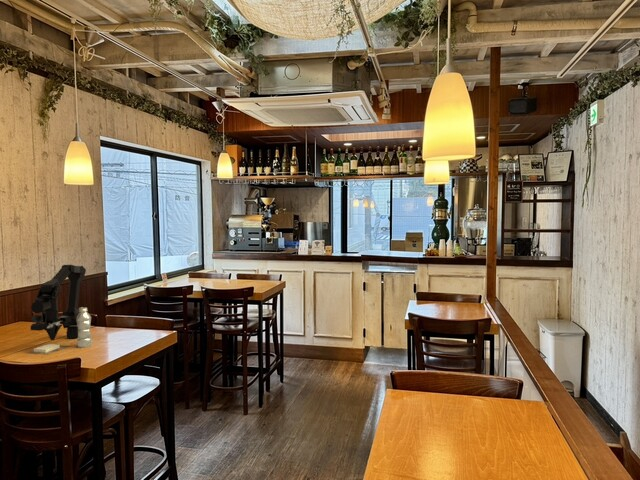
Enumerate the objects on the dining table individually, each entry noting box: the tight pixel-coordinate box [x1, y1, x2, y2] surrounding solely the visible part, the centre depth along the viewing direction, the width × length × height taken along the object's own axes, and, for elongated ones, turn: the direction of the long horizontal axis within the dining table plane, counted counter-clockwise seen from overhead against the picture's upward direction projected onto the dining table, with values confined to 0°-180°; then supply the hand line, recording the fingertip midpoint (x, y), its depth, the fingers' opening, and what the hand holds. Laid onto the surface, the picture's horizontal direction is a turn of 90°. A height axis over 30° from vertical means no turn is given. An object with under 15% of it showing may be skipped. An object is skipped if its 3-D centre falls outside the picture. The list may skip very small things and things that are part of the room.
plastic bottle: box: [76, 306, 93, 349], centre depth 214 cm, size 6×7×20 cm
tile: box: [33, 343, 60, 353], centre depth 209 cm, size 2×7×8 cm
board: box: [25, 344, 72, 356], centre depth 210 cm, size 14×14×1 cm
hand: (52, 340), depth 212 cm, fingers closed
